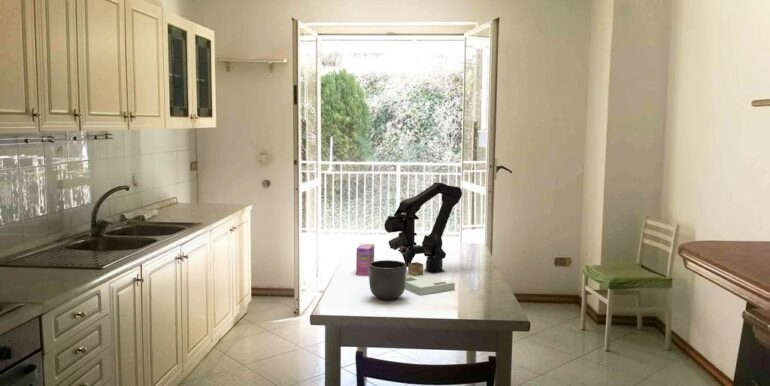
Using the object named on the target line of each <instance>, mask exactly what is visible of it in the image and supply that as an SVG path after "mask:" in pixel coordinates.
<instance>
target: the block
mask: <svg viewBox="0 0 770 386" xmlns="http://www.w3.org/2000/svg"><path fill="white" fill-rule="evenodd" d="M407 273H408V274H410V275H412V276H418V275H423V273H424V264H423V263H421V262H418V261H414V262H411V263H408V267H407Z"/></svg>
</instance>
